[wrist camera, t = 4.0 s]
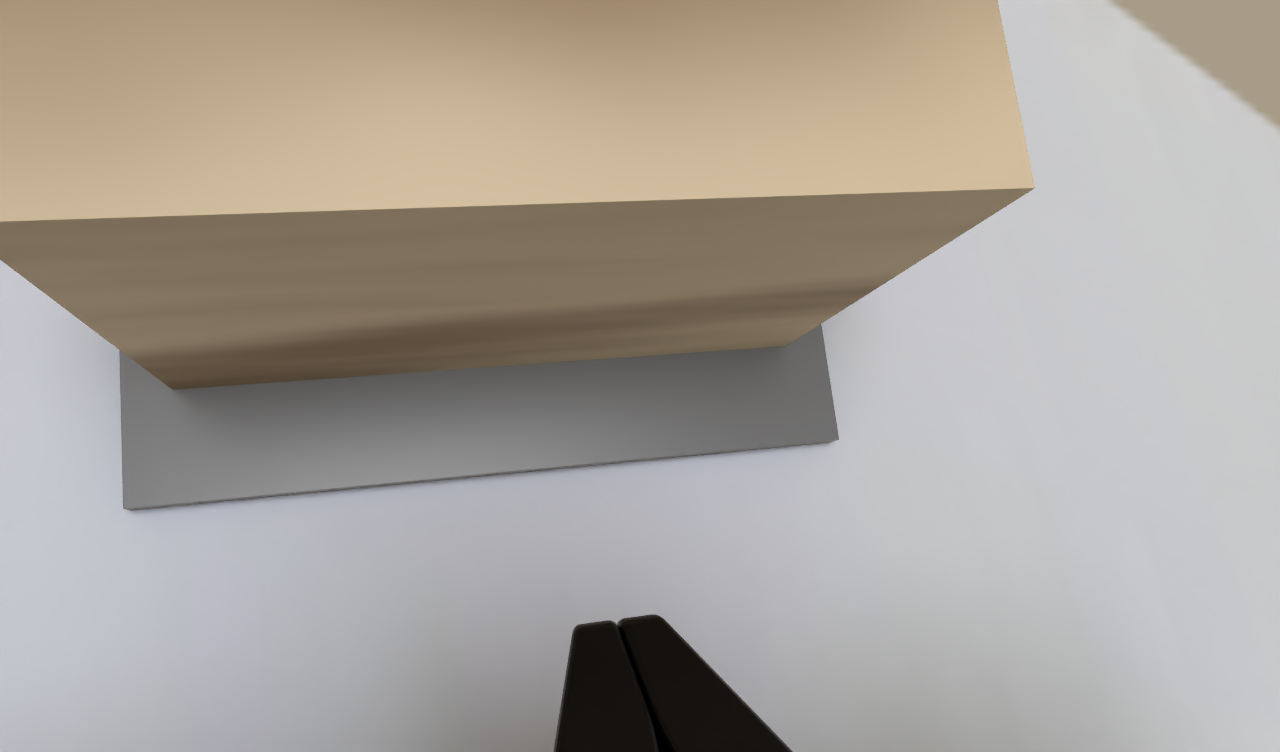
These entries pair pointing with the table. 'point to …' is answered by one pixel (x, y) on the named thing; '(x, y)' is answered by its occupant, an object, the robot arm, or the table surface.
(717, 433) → the gray board
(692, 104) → the pine block
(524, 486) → the table surface
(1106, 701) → the table surface
